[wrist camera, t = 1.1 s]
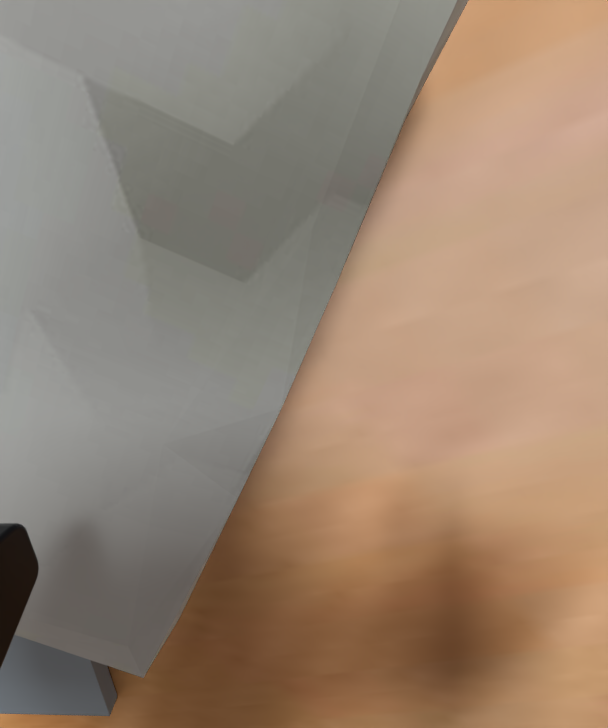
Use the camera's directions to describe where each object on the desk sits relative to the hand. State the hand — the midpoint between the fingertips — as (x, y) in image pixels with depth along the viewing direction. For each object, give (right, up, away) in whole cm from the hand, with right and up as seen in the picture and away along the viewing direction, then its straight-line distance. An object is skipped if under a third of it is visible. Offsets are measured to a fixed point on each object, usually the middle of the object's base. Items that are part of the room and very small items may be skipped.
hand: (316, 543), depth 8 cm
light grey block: (0, +3, +4) cm, 5 cm away
